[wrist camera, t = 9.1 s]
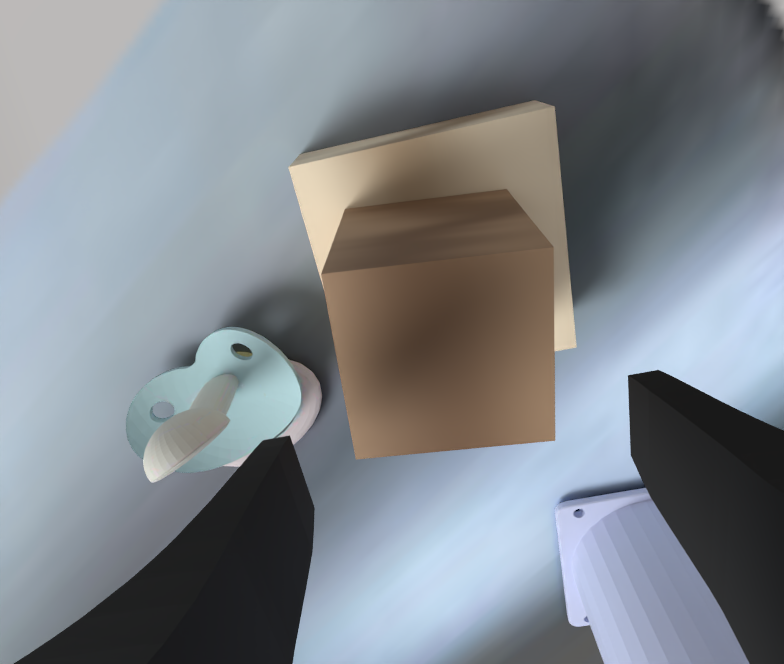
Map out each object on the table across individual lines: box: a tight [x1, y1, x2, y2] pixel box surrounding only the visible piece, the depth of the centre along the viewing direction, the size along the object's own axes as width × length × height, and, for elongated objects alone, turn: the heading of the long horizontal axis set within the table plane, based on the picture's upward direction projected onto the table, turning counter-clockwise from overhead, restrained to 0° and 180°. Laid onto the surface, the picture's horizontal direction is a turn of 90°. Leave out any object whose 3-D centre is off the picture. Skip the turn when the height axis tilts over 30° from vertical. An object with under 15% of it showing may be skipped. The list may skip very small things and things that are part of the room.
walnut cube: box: [321, 189, 555, 459], centre depth 16 cm, size 5×5×6 cm
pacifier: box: [126, 327, 322, 482], centre depth 21 cm, size 7×6×6 cm
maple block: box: [289, 100, 576, 352], centre depth 20 cm, size 8×8×3 cm
